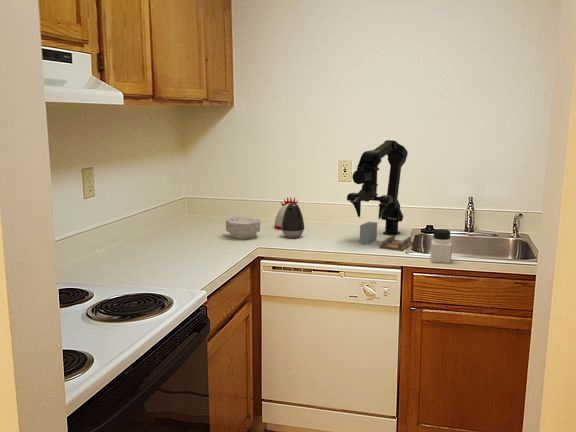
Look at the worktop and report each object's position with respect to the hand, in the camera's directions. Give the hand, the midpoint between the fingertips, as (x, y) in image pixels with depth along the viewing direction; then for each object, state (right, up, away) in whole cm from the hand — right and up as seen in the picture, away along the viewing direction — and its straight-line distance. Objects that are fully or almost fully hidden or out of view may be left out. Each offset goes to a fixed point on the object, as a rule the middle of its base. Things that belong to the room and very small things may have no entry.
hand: (369, 218), depth 251 cm
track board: (+11, -12, -6) cm, 17 cm away
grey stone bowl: (-54, -9, +11) cm, 56 cm away
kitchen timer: (-34, -5, +31) cm, 46 cm away
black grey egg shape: (-32, -9, +11) cm, 35 cm away
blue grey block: (0, -10, +2) cm, 11 cm away
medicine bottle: (+23, -16, -28) cm, 40 cm away
